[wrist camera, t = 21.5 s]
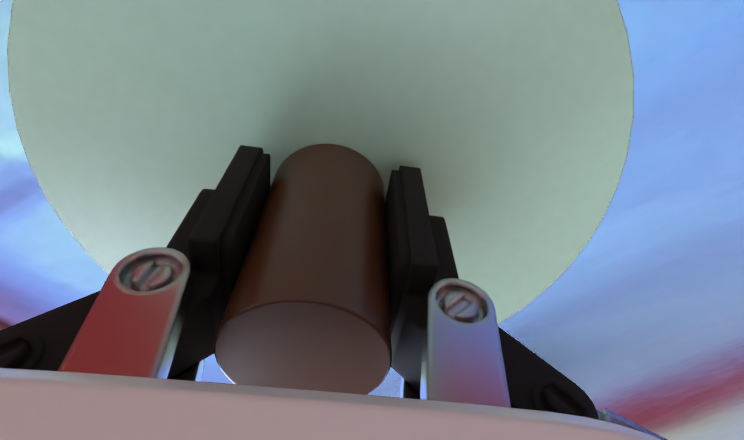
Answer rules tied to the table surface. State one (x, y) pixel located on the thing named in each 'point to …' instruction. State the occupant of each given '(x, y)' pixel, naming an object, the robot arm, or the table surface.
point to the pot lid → (328, 148)
